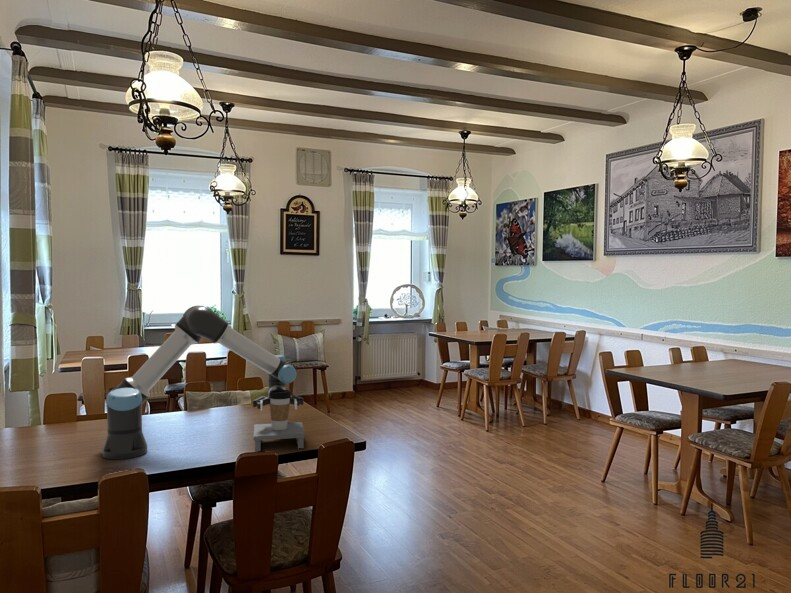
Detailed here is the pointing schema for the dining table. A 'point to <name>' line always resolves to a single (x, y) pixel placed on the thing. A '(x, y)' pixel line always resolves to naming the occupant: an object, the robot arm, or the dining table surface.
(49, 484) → the dining table surface
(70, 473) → the dining table surface
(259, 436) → the bridge shelf
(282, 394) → the coffee cup
